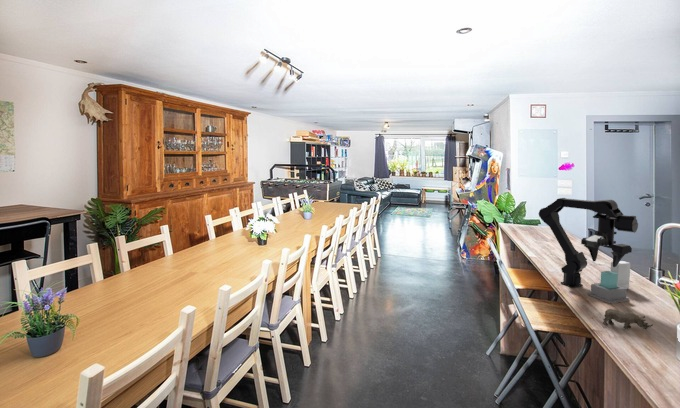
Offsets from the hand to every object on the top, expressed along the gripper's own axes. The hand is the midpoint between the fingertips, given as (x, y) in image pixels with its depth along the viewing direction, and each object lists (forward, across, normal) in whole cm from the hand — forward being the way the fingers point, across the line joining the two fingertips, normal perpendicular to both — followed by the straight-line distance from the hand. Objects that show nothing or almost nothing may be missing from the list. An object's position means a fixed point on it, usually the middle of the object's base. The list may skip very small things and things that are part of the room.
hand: (604, 264), depth 157 cm
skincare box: (+13, -2, +12) cm, 18 cm away
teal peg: (+12, +5, -3) cm, 13 cm away
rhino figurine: (+13, +28, -22) cm, 38 cm away
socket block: (+13, +5, -3) cm, 14 cm away
